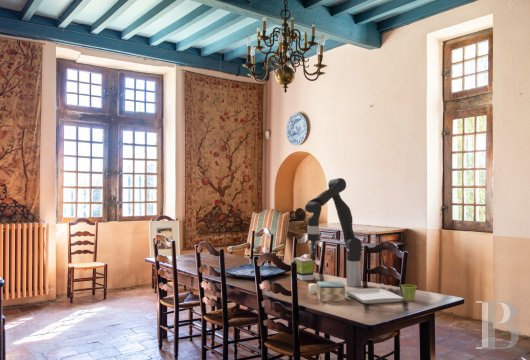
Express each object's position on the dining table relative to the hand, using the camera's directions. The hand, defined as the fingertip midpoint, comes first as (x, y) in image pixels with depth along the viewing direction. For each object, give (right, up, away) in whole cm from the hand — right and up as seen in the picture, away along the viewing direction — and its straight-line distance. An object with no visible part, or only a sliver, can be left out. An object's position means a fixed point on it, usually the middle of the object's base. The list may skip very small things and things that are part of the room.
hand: (313, 259), depth 298 cm
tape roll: (0, -21, 0) cm, 21 cm away
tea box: (-3, -22, +48) cm, 53 cm away
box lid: (+9, -13, -16) cm, 22 cm away
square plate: (+34, -22, -15) cm, 43 cm away
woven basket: (+9, -21, -16) cm, 28 cm away
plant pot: (+56, -21, -19) cm, 62 cm away
